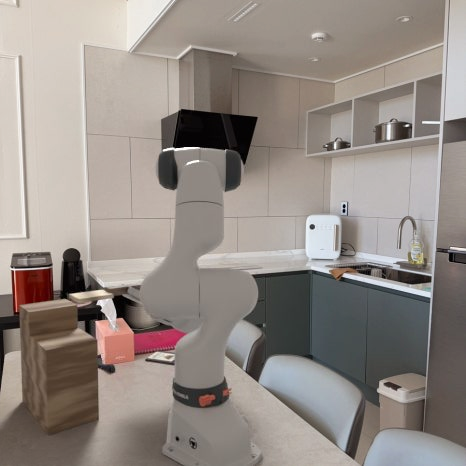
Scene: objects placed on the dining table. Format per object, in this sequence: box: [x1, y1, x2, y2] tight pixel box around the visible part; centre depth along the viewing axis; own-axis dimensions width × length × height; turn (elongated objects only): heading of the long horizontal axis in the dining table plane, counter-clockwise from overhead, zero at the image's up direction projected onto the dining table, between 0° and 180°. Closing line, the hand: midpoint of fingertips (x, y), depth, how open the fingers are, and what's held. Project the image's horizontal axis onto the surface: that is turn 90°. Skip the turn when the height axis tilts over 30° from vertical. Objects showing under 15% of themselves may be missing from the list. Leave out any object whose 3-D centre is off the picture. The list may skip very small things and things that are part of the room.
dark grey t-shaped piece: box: [98, 353, 116, 373], centre depth 144 cm, size 14×15×3 cm
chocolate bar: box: [144, 350, 175, 366], centre depth 151 cm, size 9×1×18 cm
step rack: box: [18, 298, 100, 436], centre depth 114 cm, size 22×12×26 cm, turn 39°
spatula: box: [68, 282, 142, 304], centre depth 119 cm, size 21×7×2 cm, turn 129°
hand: (124, 287), depth 121 cm, fingers closed on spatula, 2 cm apart
